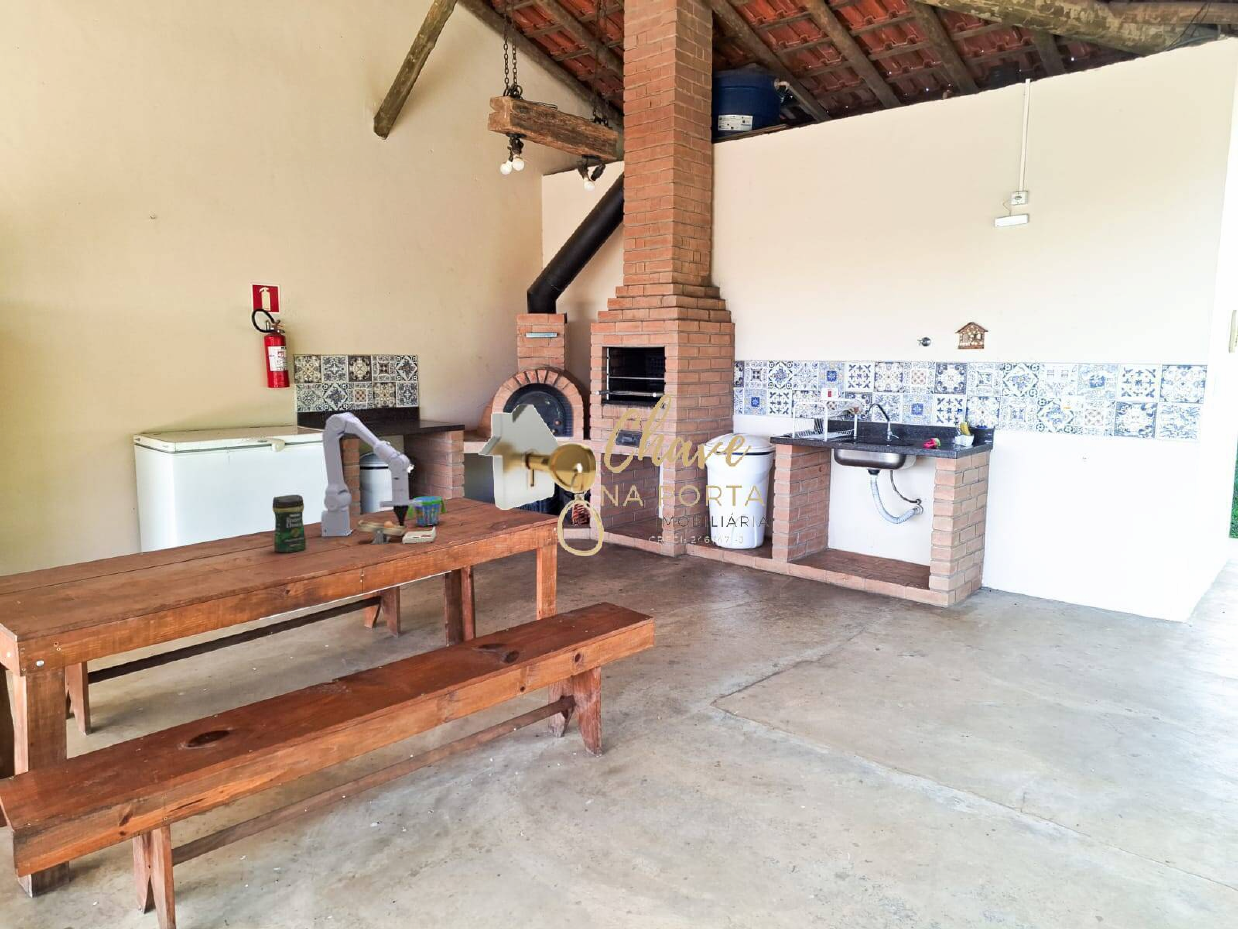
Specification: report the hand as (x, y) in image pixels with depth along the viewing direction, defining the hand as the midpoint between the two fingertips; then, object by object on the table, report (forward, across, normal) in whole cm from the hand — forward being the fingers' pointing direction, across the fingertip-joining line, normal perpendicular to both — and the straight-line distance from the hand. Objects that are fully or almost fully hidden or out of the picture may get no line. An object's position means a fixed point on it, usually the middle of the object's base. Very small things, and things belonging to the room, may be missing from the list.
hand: (401, 526), depth 289 cm
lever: (0, -6, -4) cm, 7 cm away
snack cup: (+4, +7, +18) cm, 19 cm away
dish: (+3, +7, -8) cm, 11 cm away
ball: (-2, -3, -8) cm, 8 cm away
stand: (+3, -6, -8) cm, 10 cm away
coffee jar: (+3, -34, -16) cm, 38 cm away
